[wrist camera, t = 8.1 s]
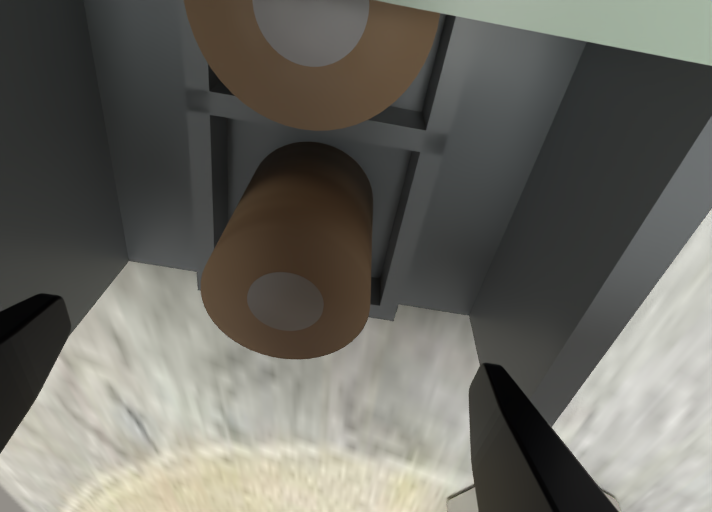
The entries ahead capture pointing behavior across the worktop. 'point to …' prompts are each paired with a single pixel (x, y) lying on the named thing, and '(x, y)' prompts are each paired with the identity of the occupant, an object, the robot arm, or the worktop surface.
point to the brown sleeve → (295, 256)
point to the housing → (358, 158)
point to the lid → (599, 21)
